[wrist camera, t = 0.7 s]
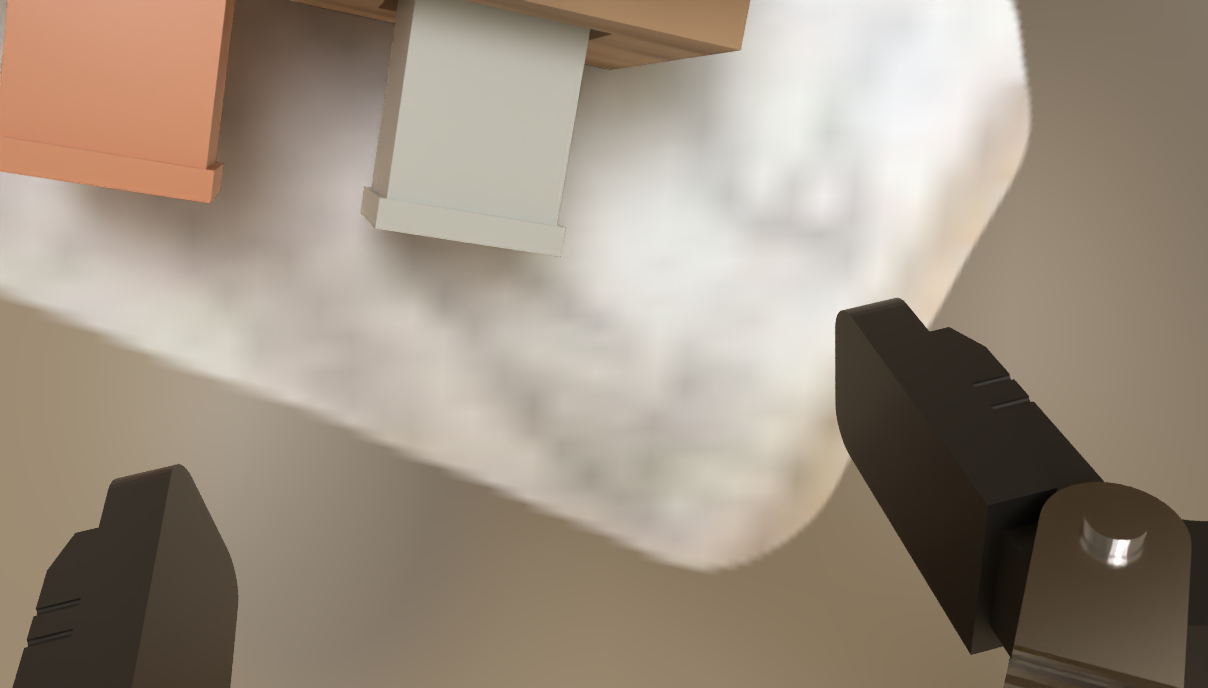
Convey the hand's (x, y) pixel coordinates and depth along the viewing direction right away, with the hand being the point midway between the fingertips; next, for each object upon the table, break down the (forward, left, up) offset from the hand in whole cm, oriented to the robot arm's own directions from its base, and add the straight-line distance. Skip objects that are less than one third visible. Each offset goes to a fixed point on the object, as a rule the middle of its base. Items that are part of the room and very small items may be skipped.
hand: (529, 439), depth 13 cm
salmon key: (-5, +7, -21) cm, 22 cm away
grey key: (+3, +3, -21) cm, 21 cm away
